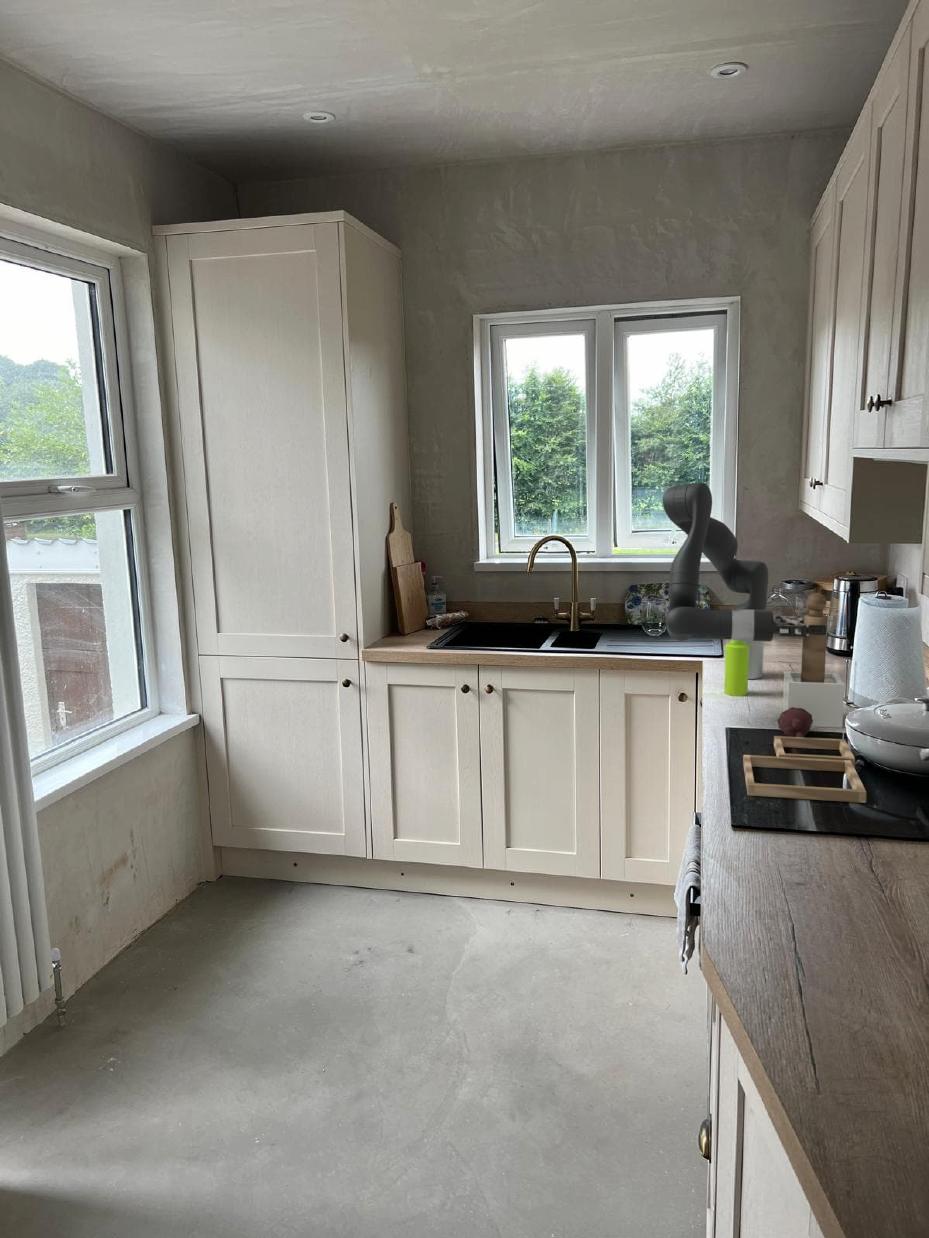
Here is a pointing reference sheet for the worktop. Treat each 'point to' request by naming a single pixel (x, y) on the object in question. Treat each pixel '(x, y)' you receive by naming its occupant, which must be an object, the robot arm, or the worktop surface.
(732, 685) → the soap dispenser
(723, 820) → the worktop surface
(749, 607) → the robot arm
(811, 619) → the pepper mill
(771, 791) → the frame
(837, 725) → the plinth
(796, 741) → the frame
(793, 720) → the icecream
